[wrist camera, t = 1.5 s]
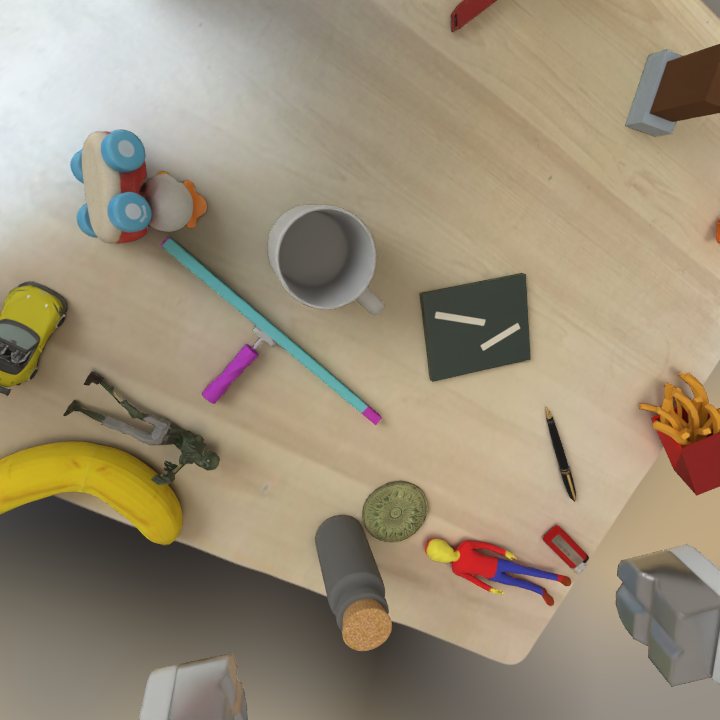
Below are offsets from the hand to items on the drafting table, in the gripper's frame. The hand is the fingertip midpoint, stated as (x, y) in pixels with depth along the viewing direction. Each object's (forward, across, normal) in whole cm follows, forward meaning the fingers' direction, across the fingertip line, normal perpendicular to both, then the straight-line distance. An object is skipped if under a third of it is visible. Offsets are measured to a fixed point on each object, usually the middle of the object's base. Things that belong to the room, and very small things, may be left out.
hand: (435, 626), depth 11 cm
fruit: (+42, +16, +23) cm, 50 cm away
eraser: (+49, -40, -11) cm, 64 cm away
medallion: (+45, -7, +31) cm, 55 cm away
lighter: (+44, -26, +39) cm, 65 cm away
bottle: (+44, 0, +32) cm, 55 cm away
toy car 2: (+40, +16, -9) cm, 44 cm away
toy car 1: (+44, +26, +3) cm, 52 cm away
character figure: (+44, -18, +42) cm, 63 cm away
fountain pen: (+46, -28, +29) cm, 61 cm away
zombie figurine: (+44, +18, +14) cm, 50 cm away
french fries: (+45, -47, +35) cm, 74 cm away
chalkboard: (+46, -18, +10) cm, 51 cm away
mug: (+46, -3, 0) cm, 46 cm away
